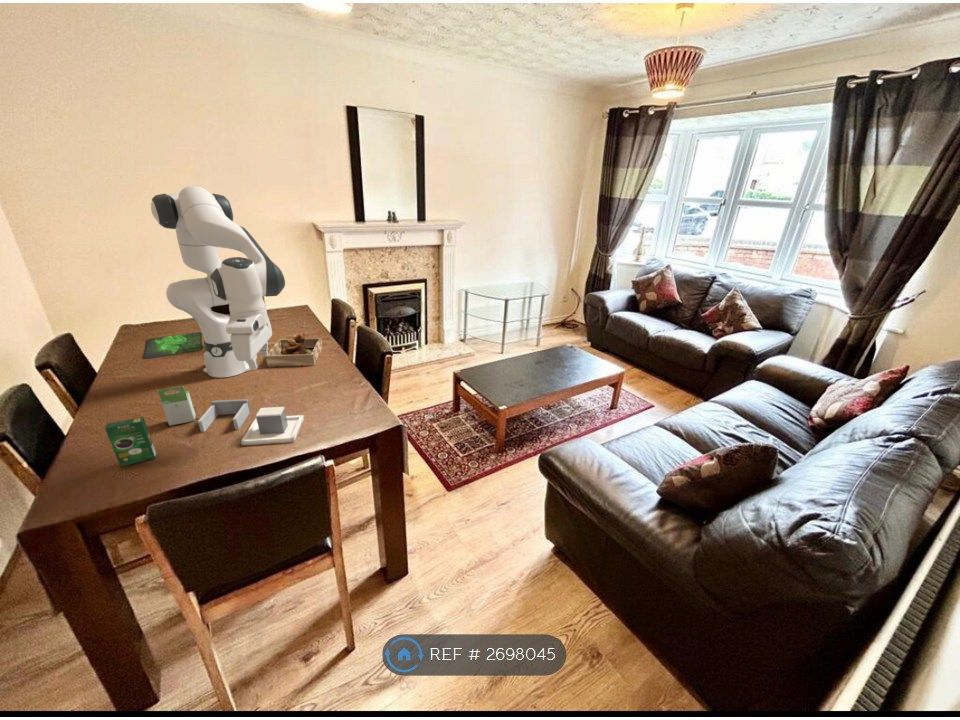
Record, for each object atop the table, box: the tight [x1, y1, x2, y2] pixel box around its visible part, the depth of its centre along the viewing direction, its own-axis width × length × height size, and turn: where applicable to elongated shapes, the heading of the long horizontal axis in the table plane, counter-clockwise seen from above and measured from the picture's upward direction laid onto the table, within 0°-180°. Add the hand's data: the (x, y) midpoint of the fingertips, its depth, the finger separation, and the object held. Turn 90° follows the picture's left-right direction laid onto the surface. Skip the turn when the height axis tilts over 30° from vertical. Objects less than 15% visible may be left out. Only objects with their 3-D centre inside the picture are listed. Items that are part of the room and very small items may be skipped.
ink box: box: [156, 385, 197, 427], centre depth 125 cm, size 7×4×13 cm, turn 117°
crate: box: [265, 337, 324, 368], centre depth 175 cm, size 20×19×5 cm
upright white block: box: [255, 406, 288, 435], centre depth 123 cm, size 4×7×7 cm, turn 100°
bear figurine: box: [280, 332, 312, 355], centre depth 172 cm, size 14×15×12 cm
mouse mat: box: [142, 331, 203, 360], centre depth 183 cm, size 27×22×1 cm
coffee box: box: [104, 416, 157, 467], centre depth 107 cm, size 8×3×13 cm, turn 120°
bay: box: [197, 398, 251, 433], centre depth 127 cm, size 11×11×5 cm
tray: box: [240, 414, 305, 446], centre depth 124 cm, size 13×15×2 cm
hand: (259, 362), depth 114 cm, fingers open, 8 cm apart
